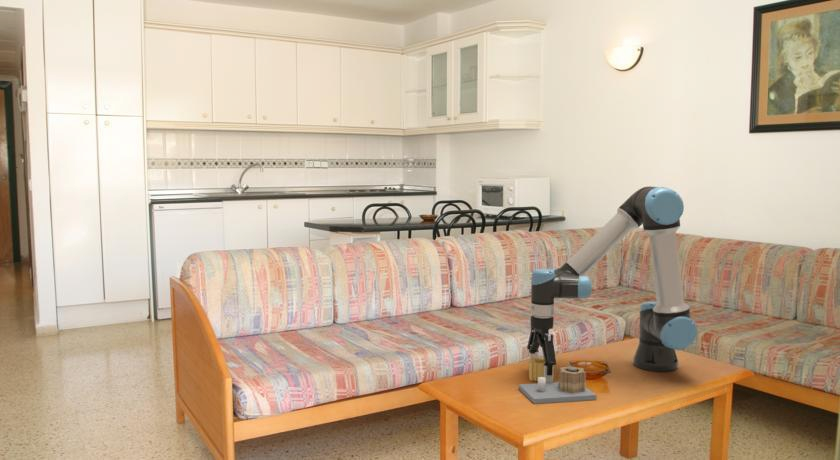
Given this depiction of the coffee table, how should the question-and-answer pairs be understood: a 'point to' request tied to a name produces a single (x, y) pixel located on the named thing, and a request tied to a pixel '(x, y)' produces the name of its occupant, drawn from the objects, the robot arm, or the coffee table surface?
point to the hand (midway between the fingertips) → (540, 378)
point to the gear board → (553, 392)
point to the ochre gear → (537, 368)
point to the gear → (572, 380)
